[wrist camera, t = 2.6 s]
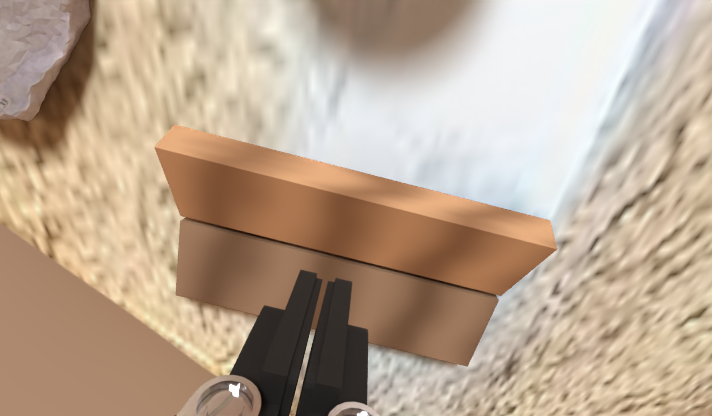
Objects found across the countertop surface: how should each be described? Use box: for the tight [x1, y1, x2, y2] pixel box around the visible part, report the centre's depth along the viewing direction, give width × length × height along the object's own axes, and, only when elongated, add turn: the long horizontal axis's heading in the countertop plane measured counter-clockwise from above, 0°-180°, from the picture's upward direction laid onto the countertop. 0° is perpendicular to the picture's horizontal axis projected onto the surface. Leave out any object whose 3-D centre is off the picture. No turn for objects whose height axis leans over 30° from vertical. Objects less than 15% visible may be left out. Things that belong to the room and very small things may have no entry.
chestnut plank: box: [155, 125, 557, 296], centre depth 21 cm, size 22×6×2 cm, turn 76°
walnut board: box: [176, 217, 499, 367], centre depth 25 cm, size 22×6×2 cm, turn 76°
